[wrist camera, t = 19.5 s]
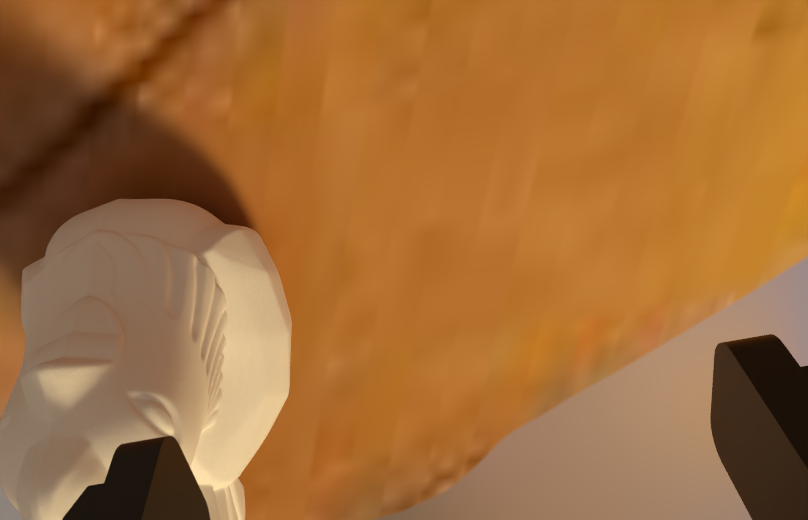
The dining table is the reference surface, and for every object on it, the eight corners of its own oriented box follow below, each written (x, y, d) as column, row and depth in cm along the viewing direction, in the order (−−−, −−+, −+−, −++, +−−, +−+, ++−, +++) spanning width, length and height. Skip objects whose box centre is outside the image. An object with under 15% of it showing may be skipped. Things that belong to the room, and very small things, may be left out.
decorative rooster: (31, 154, 47) (-219, 467, 26) (292, 160, 48) (251, 463, 28) (96, 445, 61) (-35, 804, 40) (299, 444, 62) (275, 791, 41)
